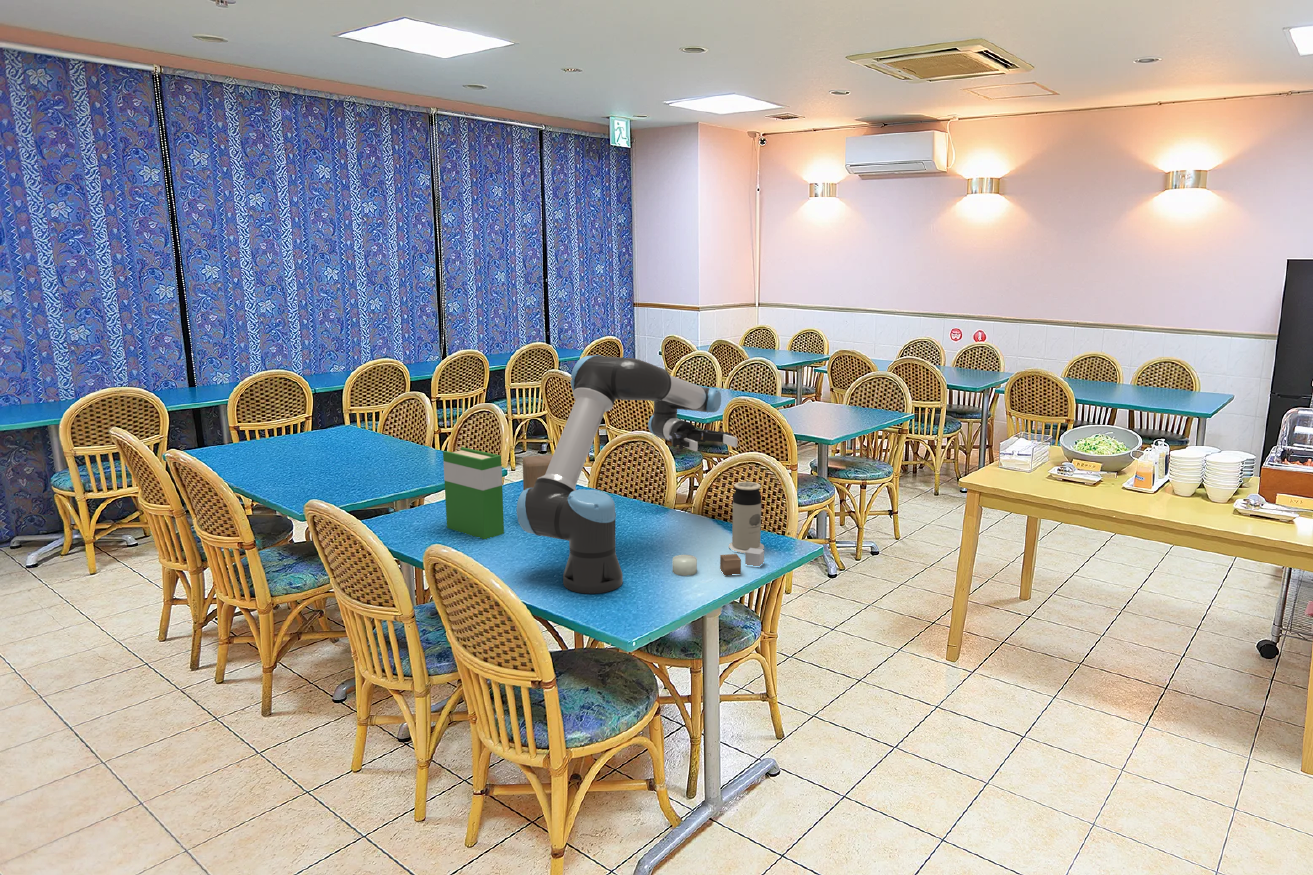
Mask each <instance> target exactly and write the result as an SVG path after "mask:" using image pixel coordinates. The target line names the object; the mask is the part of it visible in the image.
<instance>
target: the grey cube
mask: <svg viewBox="0 0 1313 875" xmlns="http://www.w3.org/2000/svg"><path fill="white" fill-rule="evenodd" d="M744 556H745V557H744V558H745V560H744V561H745V562H744V563H745V564H747V565H753V566H760V565H761V564H763V562H764V563H765V549H764V550H762V549H756V548H749V549H748V550H747V551H746V552H745V554H744ZM745 564H744V565H745ZM763 565H764V564H763Z"/></svg>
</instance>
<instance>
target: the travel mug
mask: <svg viewBox="0 0 1313 875" xmlns="http://www.w3.org/2000/svg"><path fill="white" fill-rule="evenodd" d="M733 487H734V488H735V491H734V493H733V495H732V527H731V528H732V530H731V532H732V533H731V534H732V535H731V536H732V537H731V543H732V545H733V546H734V547H736V548H738V549H742V550H748V549H749V548H758V547H760V543H761V534H762V533H761V527H762V526H761V524H762V523H761V522H762V495H761V493H760V490H761V487H762V485H761V484H760V483H758V482H754V481H753V482H752V481H739V482H735V483H734V484H733Z"/></svg>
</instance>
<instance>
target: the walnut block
mask: <svg viewBox="0 0 1313 875" xmlns="http://www.w3.org/2000/svg"><path fill="white" fill-rule="evenodd" d="M719 556H720V557H719V558H720V559H719V565H720V566H719V570H720V569H721V571H722V572H723V574H724V575H732V574H742V572H741V571H742V559H741V557H739V555H738V553H731V554H730V553H729V554H719ZM721 571H720V572H721ZM722 572H721V573H722ZM723 574H722V575H723ZM724 575H723V576H724Z"/></svg>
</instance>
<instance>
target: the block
mask: <svg viewBox="0 0 1313 875" xmlns="http://www.w3.org/2000/svg"><path fill="white" fill-rule="evenodd" d="M552 457H553V454H545V455H532V456H531V455H529V456H524V457H523V458H522V480H523V481H522V484H523V490H522V491H524V490H525V489H527V488H533V487H534V485H535V482H536V480H537V479H538V478H539V477H542V476H544V475H545V474H546V471H547V469H548V466H549V464H550V461H551V459H552Z"/></svg>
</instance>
